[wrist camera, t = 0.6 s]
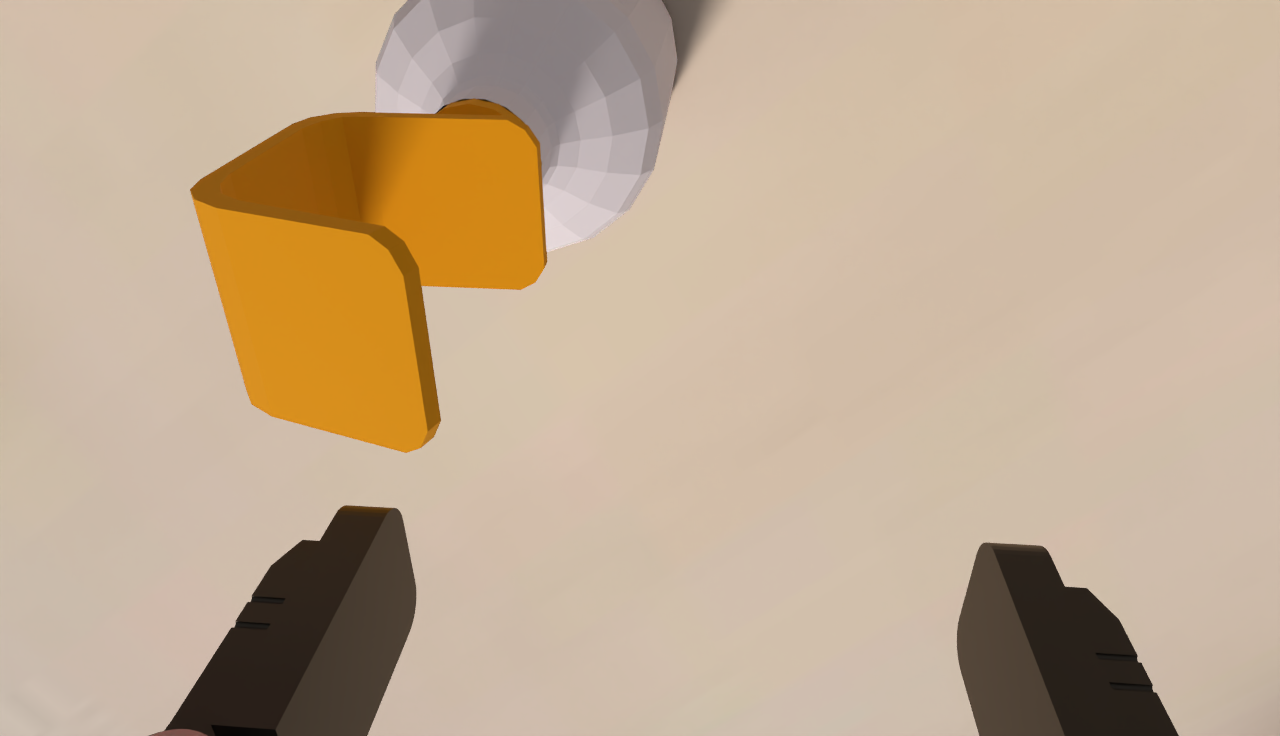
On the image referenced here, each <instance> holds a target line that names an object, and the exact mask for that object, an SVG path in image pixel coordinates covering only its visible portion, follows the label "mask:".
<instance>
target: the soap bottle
mask: <svg viewBox="0 0 1280 736" xmlns="http://www.w3.org/2000/svg"><path fill="white" fill-rule="evenodd" d="M677 61H678V60H677V53H676V46H675V39H674V32H673V26H672V19H671V17H670V15H669V13H668V11H667V9H666V7H665V5H664V3H663V1H662V0H408V1H407V2H406V3H405V4H404V5H403V6H402V7H401V8H400V9H399V10H398V11H397V12H396V13H395V14H394V17H393V19H392V22H391V25H390V27H389V30H388V32H387V35H386V37H385V40H384V43H383V45H382V48H381V50H380V53H379V55H378V58H377V61H376V96H375V112H352V113H334V114H328V115H322V116H316V117H310V118H307V119H305V120H302V121H299V122H297V123H294V124H292V125H290V126H288V127H287V128H285V129H283V130H282V131H280V132H278V133H277V134H275V135H273V136H272V137H270V138H268V139H267V140H265V141H263V142H262V143H260V144H258V145H257V146H255V147H253V148H252V149H250V150H248V151H247V152H245V153H243V154H242V155H240V156H239V157H237V158H235V159H234V160H232V161H230V162H229V163H227V164H225V165H224V166H222V167H220V168H219V169H217V170H215V171H214V172H212V173H210V174H209V175H207V176H205V177H204V178H202V179H200V180H199V181H198V182H197V183H196V184H195V185H194V186H193V187H192V188H191V189H190V191H191V195H192V198H193V202H194V205H195V209H196V212H197V216H198V220H199V223H200V227H201V230H202V234H203V237H204V241H205V244H206V248H207V252H208V255H209V259H210V262H211V266H212V269H213V273H214V276H215V280H216V283H217V287H218V291H219V294H220V298H221V301H222V305H223V308H224V312H225V315H226V319H227V323H228V326H229V330H230V333H231V337H232V340H233V344H234V347H235V351H236V355H237V358H238V362H239V365H240V369H241V372H242V376H243V379H244V383H245V387H246V390H247V393H248V396H249V398H250V401H251V404H252V405H254V406H255V407H257V408H259V409H260V410H262V411H264V412H265V413H267V414H269V415H270V416H272V417H276V418H280V419H283V420H287V421H291V422H294V423H298V424H302V425H305V426H309V427H313V428H316V429H320V430H324V431H328V432H331V433H335V434H339V435H342V436H346V437H350V438H353V439H357V440H361V441H364V442H368V443H372V444H376V445H379V446H383V447H387V448H390V449H394V450H398V451H401V452H405V453H407V452H410V451H413V450H416V449H419V448H421V447H422V446H424V445H425V444H426V443H427V442H428V441H429V440H431V439H432V438H433V437H434V435H435V433H436V431H437V429H438V426H439V424H440V422H441V418H440V411H439V404H438V397H437V390H436V384H435V377H434V370H433V363H432V356H431V349H430V342H429V335H428V329H427V322H426V315H425V308H424V301H423V294H422V287H421V286H438V287H464V288H490V289H516V290H521V289H523V288H525V287H527V286H529V285H531V284H533V283H535V282H536V281H537V279H538V277H539V276H540V274H541V273H542V271H543V269H544V268H545V265H546V263H547V252H549V251H553V250H556V249H559V248H562V247H565V246H569V245H572V244H575V243H578V242H581V241H584V240H588V239H591V238H594V237H595V236H596V235H597V234H599V233H600V232H601V231H603V230H604V229H605V228H606V227H608V226H609V225H610V224H612V223H613V222H614V221H616V220H617V219H618V218H619V217H621V216H622V215H623V214H625V213H626V212H627V211H628V210H629V209H630V208H631V206H632V205H633V203H634V201H635V200H636V198H637V196H638V195H639V193H640V191H641V190H642V188H643V186H644V185H645V183H646V181H647V180H648V178H649V176H650V175H651V173H652V172H653V170H654V167H655V162H656V158H657V154H658V149H659V145H660V141H661V137H662V132H663V128H664V124H665V120H666V115H667V111H668V107H669V103H670V98H671V93H672V87H673V82H674V77H675V72H676V67H677Z"/></svg>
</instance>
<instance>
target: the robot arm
mask: <svg viewBox="0 0 1280 736" xmlns="http://www.w3.org/2000/svg"><path fill="white" fill-rule="evenodd" d="M415 607H416V584H415V579H414V574H413V569H412V563H411V558H410V553H409V548H408V543H407V538H406V533H405V528H404V523H403V518H402V515H401V513H400V511H399V510H398V509H396V508H383V507H365V506H347V505H346V506H343V507H341V508H340V509H339V510H338V512H337V513H336V515H335V516H334V518H333V520H332V521H331V523H330V525H329V526H328V528H327V530H326V531H325V533H324V535H323V536H322V538H321V540H320V541H310V540H302V541H301V542H299V543H298V544H297V545H296V546H295V547H293V548H292V549H291V550H290V551H288V552H287V553H286V554H285V555H284V556H282V557H281V558H280V559H279V560H277V561H276V562H275V563H274V564H273V565H271V567H270V568H269V570H268V571H267V573H266V575H265V576H264V578H263V579H262V581H261V582H260V584H259V585H258V587H257V589H256V590H255V592H254V593H253V595H252V600H251V602H248V603H247V604H246V606H245V607H244V609H243V610H242V612H241V613H240V615H239V617H238V618H237V620H236V625H235V627H234V628H231V629H230V631H229V632H228V634H227V635H226V637H225V638H224V640H223V641H222V643H221V645H220V646H219V648H218V649H217V651H216V652H215V654H214V655H213V657H212V659H211V660H210V662H209V663H208V665H207V666H206V668H205V670H204V671H203V673H202V674H201V676H200V677H199V679H198V680H197V682H196V684H195V685H194V687H193V688H192V690H191V691H190V693H189V694H188V696H187V698H186V699H185V701H184V702H183V704H182V705H181V707H180V708H179V710H178V712H177V713H176V715H175V716H174V718H173V719H172V721H171V722H170V724H169V725H168V726H167V728H166V729H165V730H164V731H162V732H158V733H155V734H152V735H149V736H367V735H368V732H369V730H370V728H371V725H372V723H373V720H374V718H375V715H376V713H377V710H378V708H379V706H380V703H381V701H382V698H383V696H384V693H385V691H386V688H387V686H388V683H389V681H390V679H391V676H392V674H393V671H394V669H395V666H396V664H397V661H398V659H399V657H400V654H401V652H402V649H403V647H404V644H405V642H406V639H407V637H408V635H409V632H410V629H411V626H412V623H413V619H414V614H415ZM957 651H958V660H959V665H960V669H961V673H962V677H963V680H964V684H965V687H966V691H967V694H968V697H969V701H970V704H971V708H972V711H973V715H974V718H975V722H976V725H977V729H978V732H979V736H1179V735H1178V733H1177V731H1176V730H1175V728H1174V726H1173V724H1172V722H1171V720H1170V718H1169V716H1168V714H1167V712H1166V710H1165V708H1164V706H1163V704H1162V702H1161V700H1160V698H1159V696H1158V695H1157V693H1154V692H1153V690H1152V686H1153V685H1152V683H1151V681H1150V679H1149V677H1148V675H1147V673H1146V671H1145V669H1144V667H1143V665H1142V663H1139V662H1138V661H1137V654H1136V652H1135V650H1134V648H1133V646H1132V644H1131V642H1130V640H1129V638H1128V636H1127V634H1126V632H1125V630H1124V628H1123V626H1122V624H1121V623H1120V621H1119V619H1118V618H1117V617H1116V616H1115V615H1114V614H1113V613H1112V612H1111V611H1110V610H1109V609H1108V608H1106V607H1105V606H1104V605H1103V604H1102V603H1101V602H1100V601H1099V600H1098V599H1097V598H1096V597H1095V596H1094V595H1093V594H1092V593H1091V592H1090V591H1089V590H1088V589H1087V588H1075V587H1065V586H1064V584H1063V582H1062V580H1061V577H1060V575H1059V573H1058V571H1057V569H1056V567H1055V565H1054V562H1053V560H1052V558H1051V556H1050V554H1049V552H1048V551H1047V550H1046V549H1045V548H1044V547H1043V546H1036V545H1018V544H1000V543H983V544H982V545H981V546H980V547H979V550H978V552H977V555H976V559H975V563H974V566H973V570H972V574H971V577H970V581H969V585H968V588H967V592H966V596H965V599H964V603H963V607H962V611H961V614H960V618H959V622H958V630H957Z"/></svg>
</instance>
